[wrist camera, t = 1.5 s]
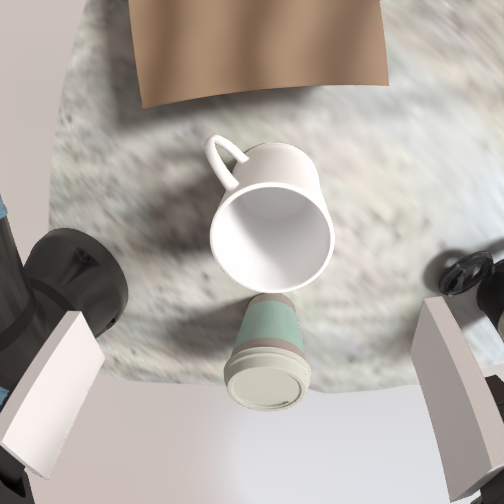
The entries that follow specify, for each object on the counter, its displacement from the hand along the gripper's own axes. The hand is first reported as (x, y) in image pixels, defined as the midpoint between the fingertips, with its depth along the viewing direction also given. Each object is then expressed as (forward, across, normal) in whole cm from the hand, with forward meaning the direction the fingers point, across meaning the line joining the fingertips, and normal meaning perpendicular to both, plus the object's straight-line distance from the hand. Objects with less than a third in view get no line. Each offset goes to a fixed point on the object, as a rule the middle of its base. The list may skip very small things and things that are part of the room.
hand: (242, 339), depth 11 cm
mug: (+22, 0, 0) cm, 22 cm away
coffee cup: (+22, -1, -17) cm, 28 cm away
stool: (+22, +1, +17) cm, 28 cm away
